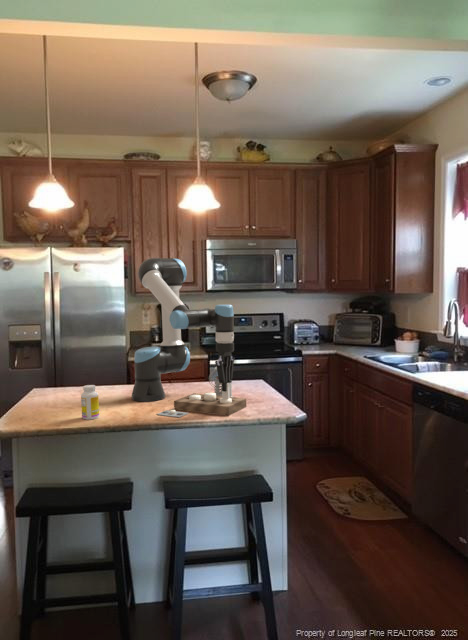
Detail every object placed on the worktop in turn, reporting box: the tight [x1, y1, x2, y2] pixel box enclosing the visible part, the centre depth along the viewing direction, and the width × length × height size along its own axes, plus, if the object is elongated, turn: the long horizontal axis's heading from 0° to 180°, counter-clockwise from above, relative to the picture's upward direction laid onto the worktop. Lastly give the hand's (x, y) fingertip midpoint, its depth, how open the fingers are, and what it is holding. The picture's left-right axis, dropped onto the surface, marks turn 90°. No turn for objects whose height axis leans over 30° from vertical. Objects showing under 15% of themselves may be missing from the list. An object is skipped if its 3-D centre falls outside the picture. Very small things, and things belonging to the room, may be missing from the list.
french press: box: [208, 366, 234, 397], centre depth 235 cm, size 10×12×25 cm
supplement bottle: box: [80, 384, 100, 421], centre depth 203 cm, size 7×7×13 cm
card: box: [156, 409, 190, 418], centre depth 207 cm, size 11×7×2 cm, turn 63°
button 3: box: [220, 398, 232, 404], centre depth 213 cm, size 5×5×3 cm
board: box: [173, 392, 247, 417], centre depth 216 cm, size 26×16×4 cm, turn 63°
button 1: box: [189, 394, 201, 400], centre depth 220 cm, size 5×5×3 cm
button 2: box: [203, 392, 216, 402], centre depth 216 cm, size 5×5×3 cm
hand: (226, 398), depth 213 cm, fingers closed
